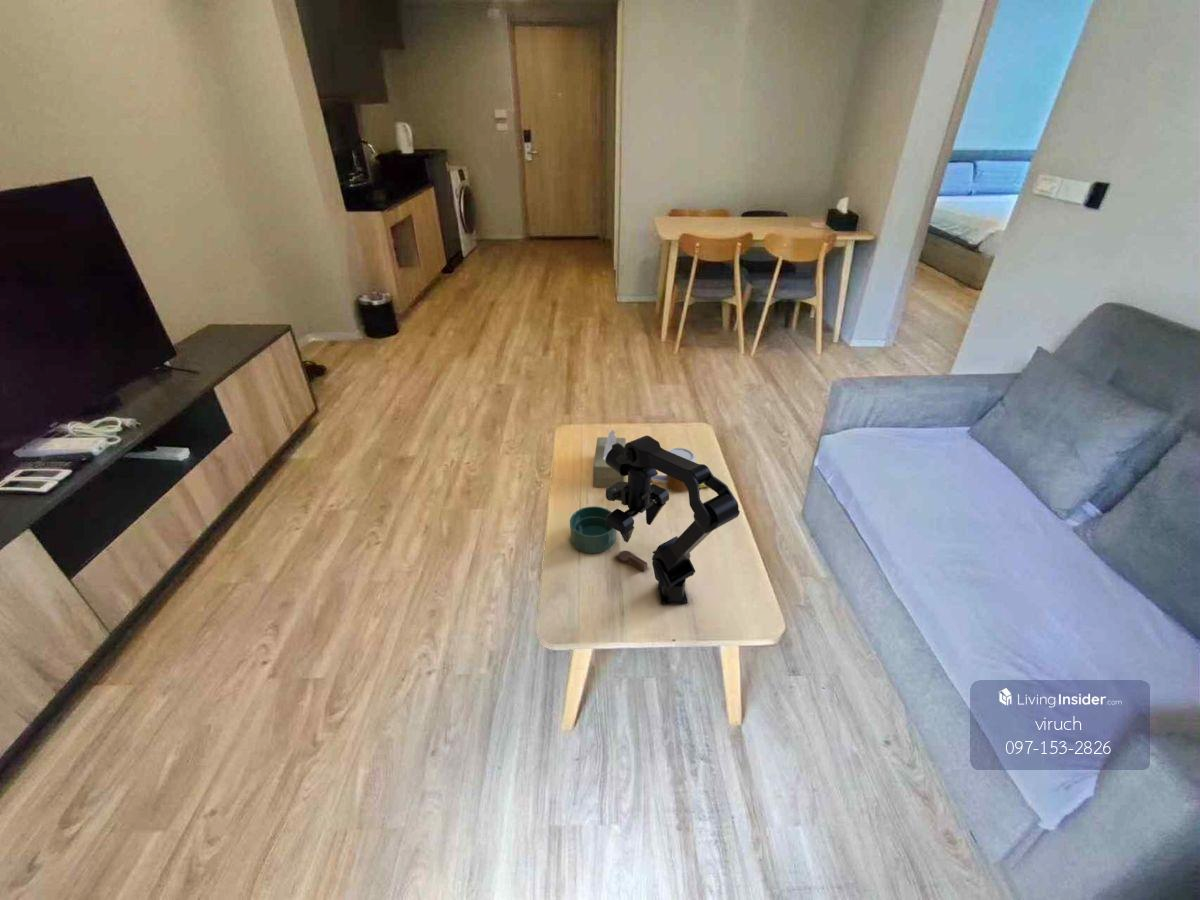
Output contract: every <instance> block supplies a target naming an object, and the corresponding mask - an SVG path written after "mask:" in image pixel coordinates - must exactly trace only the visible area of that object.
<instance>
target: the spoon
mask: <svg viewBox="0 0 1200 900" xmlns="http://www.w3.org/2000/svg"><path fill="white" fill-rule="evenodd" d="M618 560H619V562H621V563H623V564H630V565H632V566H633V567H635V568H637V569H638V570H639V571H642V572H645V571H646V570H648V562H647V561H645V560H643V559H642V558H640V557H639V556H637V555H635V554H634V553H632V552H631V551H629V550H621V551H620V552H619V553H618Z"/></svg>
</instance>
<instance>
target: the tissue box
mask: <svg viewBox="0 0 1200 900" xmlns="http://www.w3.org/2000/svg"><path fill="white" fill-rule="evenodd" d="M616 443H619V444H621V445H622V446H623V447H625V445H626V443H627V438H626V437H617V436H616V431H615V430H613V429H611V430H610V432H609V433H608V435H607V436H606V437H605V436H597V439H596V445H595V453H594V458H593V466H592V467H593V470H592V471H593V473H592V475H593V487H594V488H609V487H611V486H613V485H614V484H616V483H617V482H620V481H622V482H625V476H622V475H620V474H619V473H618V472H616V471H615V470H614V469H612V468H611V467H610V466H608V465H607V464H606V461H605V458H606V456H607V454H608V452H609V451H610V450H611V449H612V445H614V444H616Z"/></svg>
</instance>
